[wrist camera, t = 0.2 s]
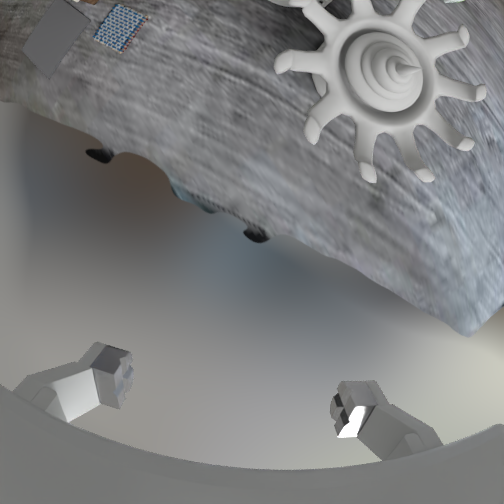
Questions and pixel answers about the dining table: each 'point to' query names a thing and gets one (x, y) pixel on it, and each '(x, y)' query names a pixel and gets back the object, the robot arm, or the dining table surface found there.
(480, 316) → the dining table surface
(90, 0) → the walnut box
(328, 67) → the candelabra
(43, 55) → the rubber mat
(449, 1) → the syrup box
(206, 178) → the dining table surface
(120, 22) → the woven mat
